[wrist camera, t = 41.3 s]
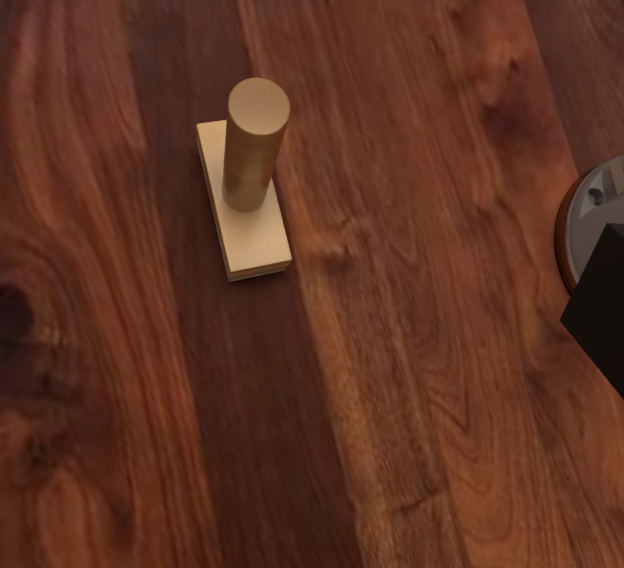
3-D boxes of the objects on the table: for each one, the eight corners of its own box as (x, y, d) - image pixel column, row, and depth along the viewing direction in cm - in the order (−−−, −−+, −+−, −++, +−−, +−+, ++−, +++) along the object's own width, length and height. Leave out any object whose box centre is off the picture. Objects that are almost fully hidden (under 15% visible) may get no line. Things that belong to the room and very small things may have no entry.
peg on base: (285, 270, 38) (329, 203, 24) (228, 282, 37) (240, 220, 23) (252, 137, 39) (276, 1, 25) (197, 145, 38) (190, 9, 24)
